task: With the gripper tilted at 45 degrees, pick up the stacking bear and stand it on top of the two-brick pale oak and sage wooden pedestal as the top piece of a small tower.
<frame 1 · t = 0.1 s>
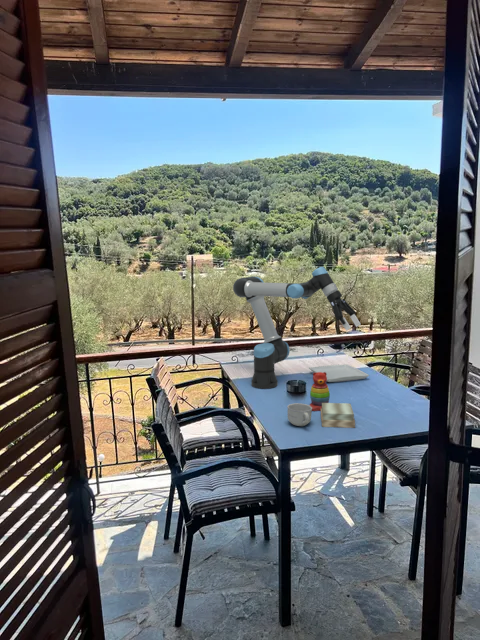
hand: (353, 327, 223), 36 cm above the table, tool tilted 35°, fingers open, 13 cm apart
teacup: (300, 425, 189), on the table
square plate: (337, 377, 260), on the table
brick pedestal: (337, 421, 192), on the table
stacking bear: (319, 408, 209), on the table
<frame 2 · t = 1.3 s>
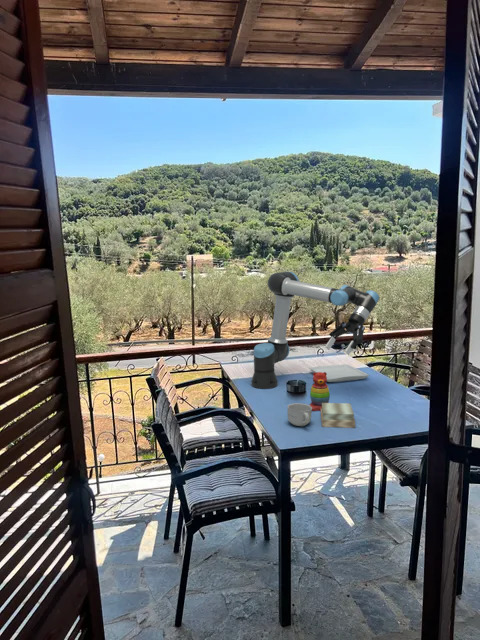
hand: (336, 350, 210), 27 cm above the table, tool tilted 45°, fingers open, 13 cm apart
nothing on the table moved.
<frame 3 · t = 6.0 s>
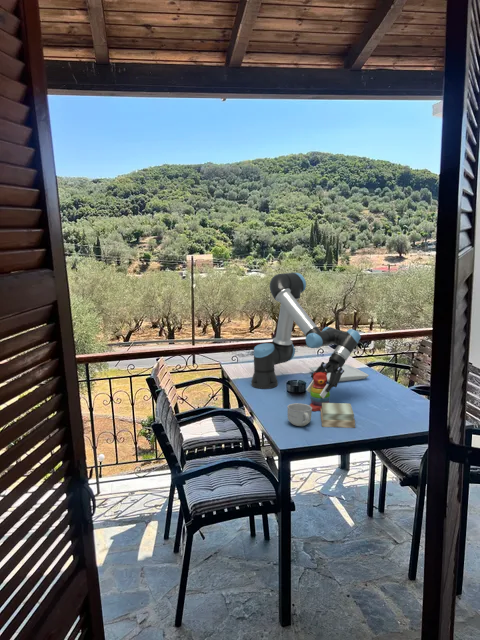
hand: (314, 394, 206), 8 cm above the table, tool tilted 45°, fingers closed on stacking bear, 9 cm apart
stacking bear: (320, 408, 209), on the table, touching gripper
everything else where it was.
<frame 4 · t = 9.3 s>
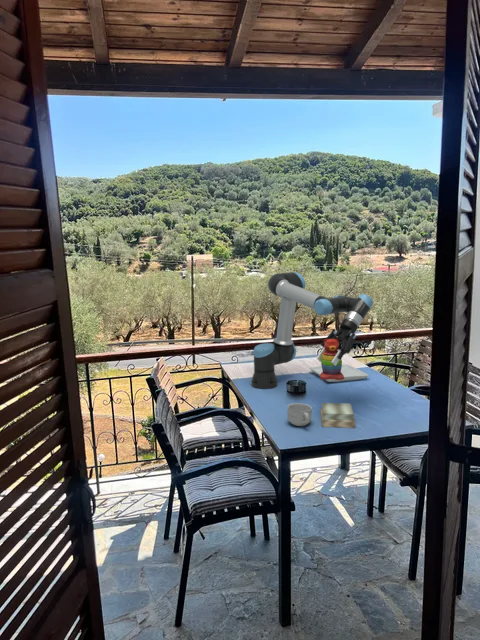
hand: (325, 361, 194), 26 cm above the table, tool tilted 45°, fingers closed on stacking bear, 9 cm apart
stacking bear: (331, 377, 197), point 18 cm above the table, touching gripper
everything else where it was.
when the fingers open (15 cm above the table, at t = 12.7 s): stacking bear drops 1 cm, resting on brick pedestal.
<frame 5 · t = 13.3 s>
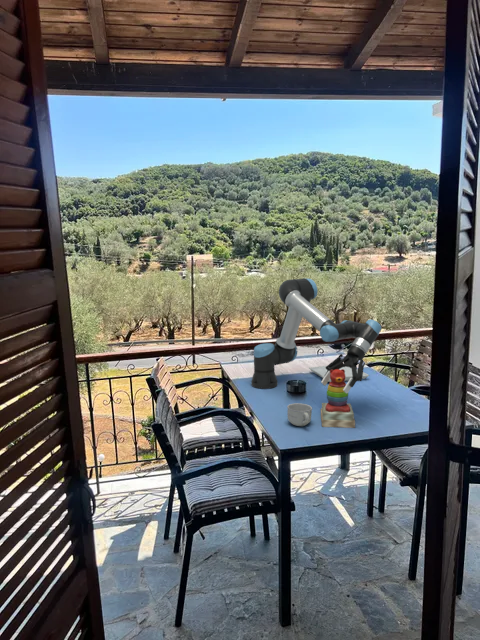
hand: (333, 387, 188), 16 cm above the table, tool tilted 45°, fingers open, 13 cm apart
stacking bear: (337, 408, 191), point 6 cm above the table, touching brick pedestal
everything else where it was.
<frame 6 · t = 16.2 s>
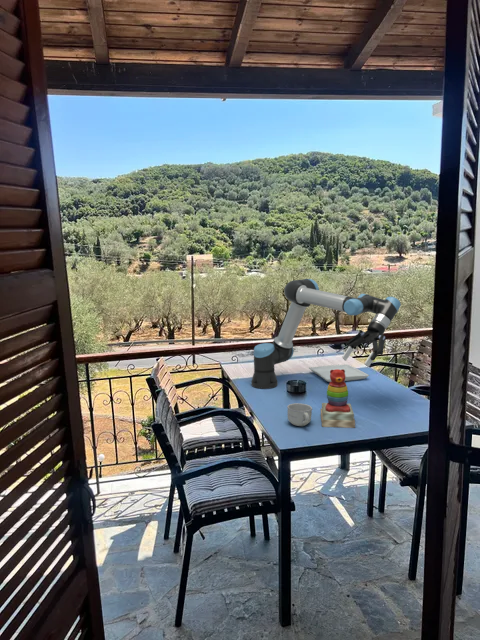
hand: (354, 362, 194), 26 cm above the table, tool tilted 45°, fingers open, 13 cm apart
nothing on the table moved.
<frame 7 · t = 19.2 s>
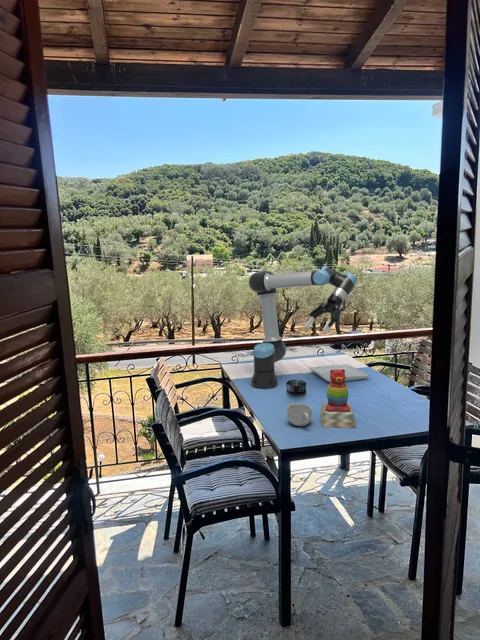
hand: (315, 329, 220), 36 cm above the table, tool tilted 45°, fingers open, 13 cm apart
nothing on the table moved.
at the end: stacking bear inside the target area on the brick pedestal (0.2 cm from its centre), point 5.8 cm above the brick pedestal's base; stacking bear tilted 0°; the gripper is holding nothing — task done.
